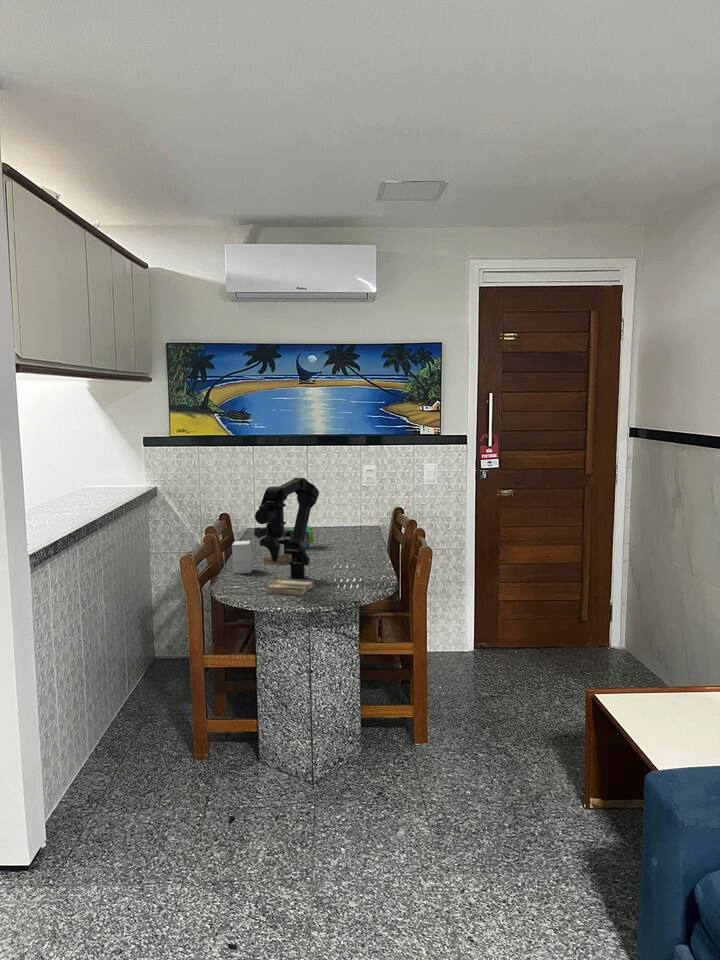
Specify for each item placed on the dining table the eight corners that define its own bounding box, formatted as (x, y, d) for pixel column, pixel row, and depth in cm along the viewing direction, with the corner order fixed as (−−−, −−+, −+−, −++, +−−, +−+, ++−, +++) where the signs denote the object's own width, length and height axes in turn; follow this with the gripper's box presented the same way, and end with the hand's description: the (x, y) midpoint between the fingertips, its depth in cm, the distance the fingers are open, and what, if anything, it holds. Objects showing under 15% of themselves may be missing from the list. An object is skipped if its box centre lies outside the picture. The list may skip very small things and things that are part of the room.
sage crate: (274, 554, 276) (274, 544, 276) (284, 554, 276) (283, 544, 275) (270, 556, 273) (270, 546, 272) (280, 556, 272) (280, 546, 271)
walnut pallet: (270, 560, 278) (270, 553, 278) (291, 561, 276) (291, 554, 275) (264, 564, 273) (263, 556, 273) (285, 565, 270) (285, 557, 270)
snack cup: (283, 547, 351) (282, 527, 350) (301, 544, 358) (300, 524, 356) (301, 552, 339) (301, 531, 338) (319, 548, 346) (319, 528, 344)
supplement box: (252, 569, 308) (251, 540, 306) (250, 573, 300) (249, 543, 299) (235, 569, 307) (234, 540, 306) (233, 573, 300) (231, 544, 299)
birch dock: (281, 583, 282) (280, 578, 282) (314, 585, 278) (314, 580, 278) (266, 593, 269) (266, 587, 268) (301, 595, 265) (301, 589, 264)
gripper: (267, 515, 284) (269, 553, 286) (246, 523, 266) (247, 564, 268) (293, 516, 280) (294, 554, 282) (273, 524, 263) (274, 566, 265)
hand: (277, 559), depth 274 cm, fingers closed on walnut pallet, 6 cm apart
